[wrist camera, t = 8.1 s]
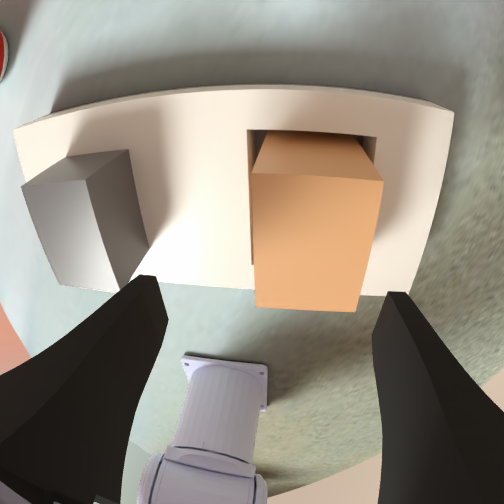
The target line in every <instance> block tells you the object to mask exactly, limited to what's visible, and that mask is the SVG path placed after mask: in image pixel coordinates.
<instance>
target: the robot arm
mask: <svg viewBox="0 0 504 504" xmlns="http://www.w3.org/2000/svg"><path fill="white" fill-rule="evenodd" d="M168 320H169V319H168V316H167V312H166V309H165V306H164V302H163V299H162V295H161V292H160V288H159V284H158V281H157V277H156V276H153V275H143V274H139V275H138V276H137V277H135V278H134V279H133V280H132V281H130V282H129V283H128V284H127V285H125V286H124V287H123V288H122V289H121V290H120V291H118V292H117V293H116V294H115V295H114V296H113V297H111V298H110V299H109V300H108V301H107V302H106V303H104V304H103V305H102V306H101V307H100V308H99V309H97V310H96V311H95V312H94V313H93V314H91V315H90V316H89V317H88V318H87V319H85V320H84V321H83V322H81V323H80V324H79V325H78V326H77V327H75V328H74V329H73V330H72V331H70V332H69V333H68V334H66V335H65V336H64V337H63V338H61V339H60V340H58V341H57V342H56V343H54V344H53V345H51V346H50V347H48V348H47V349H45V350H44V351H42V352H41V353H39V354H38V355H36V356H34V357H33V358H31V359H29V360H28V361H26V362H24V363H22V364H21V365H19V366H17V367H16V368H14V369H12V370H10V371H8V372H6V373H4V374H2V375H0V504H93V503H94V502H97V503H99V504H120V500H121V498H120V497H121V486H122V476H123V469H124V462H125V455H126V450H127V446H128V441H129V436H130V431H131V427H132V423H133V420H134V416H135V412H136V409H137V406H138V403H139V400H140V397H141V395H142V392H143V390H144V387H145V385H146V383H147V380H148V378H149V375H150V373H151V370H152V368H153V366H154V363H155V361H156V358H157V356H158V353H159V351H160V348H161V346H162V342H163V339H164V335H165V332H166V328H167V324H168ZM372 349H373V365H374V371H375V378H376V385H377V391H378V398H379V405H380V413H381V421H382V434H383V441H382V469H381V481H380V490H379V498H378V504H504V412H503V411H502V410H501V409H500V408H499V407H498V406H497V405H496V404H495V403H494V402H493V401H492V400H491V399H490V398H489V397H488V396H487V395H486V394H485V393H484V391H483V390H482V389H481V388H480V387H479V386H478V385H477V384H476V382H475V381H474V380H473V379H472V378H471V377H470V376H469V374H468V373H467V372H466V371H465V370H464V368H463V367H462V366H461V365H460V363H459V362H458V361H457V360H456V358H455V357H454V356H453V355H452V353H451V352H450V351H449V349H448V348H447V347H446V345H445V344H444V343H443V341H442V340H441V339H440V337H439V336H438V335H437V333H436V332H435V331H434V329H433V328H432V327H431V325H430V324H429V322H428V321H427V320H426V318H425V317H424V316H423V314H422V313H421V312H420V310H419V309H418V307H417V306H416V305H415V303H414V302H413V301H412V299H411V298H410V297H409V296H408V294H407V293H406V292H397V291H388V292H387V295H386V298H385V300H384V303H383V306H382V309H381V312H380V315H379V317H378V320H377V323H376V325H375V328H374V331H373V333H372ZM181 362H182V365H183V367H184V370H185V373H186V375H187V378H188V381H189V385H188V388H187V391H186V395H185V398H184V401H183V405H182V408H181V412H180V415H179V418H178V422H177V425H176V429H175V432H174V436H173V439H172V442H171V446H167V448H166V451H165V453H162V452H157V453H156V454H154V455H152V456H150V457H149V459H148V461H147V463H146V465H145V468H144V471H143V474H142V477H141V480H140V484H139V489H138V494H137V504H267V484H266V482H265V480H264V479H263V477H262V476H261V475H260V474H255V471H256V465H252V459H253V452H254V446H255V439H256V433H257V426H258V419H259V412H260V411H266V409H267V374H268V368H267V366H266V365H263V364H252V363H242V362H232V361H224V360H215V359H207V358H200V357H193V356H186V355H184V356H182V358H181Z"/></svg>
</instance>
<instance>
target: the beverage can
mask: <svg viewBox="0 0 504 504" xmlns="http://www.w3.org/2000/svg"><path fill="white" fill-rule="evenodd" d="M7 62H8V43H7V40H6V37H5V36H4V34H3V33H2V32H1V30H0V81H1V79H2V78H3V76H4V73H5V70H6V67H7Z"/></svg>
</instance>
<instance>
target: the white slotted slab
mask: <svg viewBox="0 0 504 504" xmlns="http://www.w3.org/2000/svg"><path fill="white" fill-rule="evenodd" d="M453 120H454V112H453V111H450V110H448V109H446V108H443V107H441V106H439V105H436V104H434V103H432V102H429V101H427V100H424V99H419V98H414V97H409V96H404V95H398V94H392V93H386V92H379V91H372V90H365V89H356V88H347V87H337V86H325V85H309V84H284V83H248V84H222V85H206V86H194V87H184V88H174V89H166V90H159V91H151V92H145V93H138V94H132V95H127V96H121V97H116V98H111V99H106V100H101V101H97V102H92V103H88V104H84V105H80V106H76V107H72V108H68V109H64V110H61V111H57V112H54V113H50V114H48V115H45V116H43V117H40V118H38V119H36V120H33V121H31V122H29V123H27V124H24V125H22V126H20V127H18V128H16V129H14V130H13V134H14V138H15V143H16V147H17V151H18V156H19V160H20V163H21V167H22V171H23V174H24V178H25V181H26V183H25V184H24V185H22V186H21V188H22V192H23V195H24V198H25V201H26V204H27V207H28V210H29V213H30V215H31V218H32V221H33V224H34V226H35V229H36V232H37V234H38V237H39V239H40V242H41V244H42V247H43V249H44V252H45V254H46V256H47V259H48V261H49V263H50V265H51V268H52V270H53V272H54V274H55V276H56V279H57V281H58V283H59V284H60V285H66V286H72V287H78V288H85V289H91V290H98V291H105V292H112V293H117V292H118V291H120V290H121V289H122V288H123V287H124V286H125V285H127V284H128V282H129V280H130V279H134V278H135V277H137V276H138V275H139V274H143V275H153V276H156V277H157V281H158V282H168V283H179V284H190V285H202V286H214V287H227V288H240V289H254V290H255V284H254V249H253V216H252V182H251V172H252V170H253V167H254V165H255V162H256V160H257V157H258V154H259V152H260V149H261V147H262V144H263V142H264V139H265V137H266V134H267V132H268V130H296V131H315V132H330V133H342V134H353V136H354V137H355V138H356V140H357V141H358V143H359V144H360V145H361V147H362V148H363V150H364V151H365V153H366V154H367V156H368V157H369V159H370V160H371V162H372V163H373V165H374V166H375V168H376V169H377V171H378V172H379V174H380V176H381V177H382V179H383V180H384V186H383V192H382V198H381V204H380V209H379V214H378V220H377V225H376V229H375V234H374V239H373V244H372V248H371V252H370V257H369V261H368V265H367V269H366V273H365V277H364V281H363V285H362V289H361V293H360V295H369V296H386V295H387V292H388V291H397V292H406V293H407V294H409V291H410V289H411V286H412V283H413V281H414V278H415V275H416V272H417V269H418V266H419V263H420V260H421V257H422V254H423V251H424V248H425V245H426V242H427V238H428V235H429V232H430V228H431V225H432V221H433V218H434V214H435V210H436V206H437V202H438V198H439V194H440V190H441V186H442V181H443V177H444V172H445V167H446V162H447V157H448V152H449V146H450V140H451V134H452V127H453Z"/></svg>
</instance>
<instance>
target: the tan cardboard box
mask: <svg viewBox="0 0 504 504" xmlns="http://www.w3.org/2000/svg"><path fill="white" fill-rule="evenodd" d="M251 182H252V216H253V249H254V284H255V307H266V308H281V309H297V310H316V311H338V312H355V311H356V308H357V304H358V300H359V297H360V293H361V289H362V285H363V281H364V277H365V273H366V269H367V265H368V261H369V257H370V252H371V248H372V244H373V239H374V234H375V229H376V225H377V220H378V214H379V209H380V204H381V198H382V192H383V186H384V180H383V179H382V177H381V176H380V174H379V172H378V171H377V169H376V168H375V166H374V165H373V163H372V162H371V160H370V159H369V157H368V156H367V154H366V153H365V151H364V150H363V148H362V147H361V145H360V144H359V143H358V141H357V140H356V138H355V137H354V136H353V134H342V133H330V132H315V131H296V130H268V132H267V134H266V137H265V139H264V142H263V144H262V147H261V149H260V152H259V154H258V157H257V160H256V162H255V165H254V167H253V170H252V172H251Z"/></svg>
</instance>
